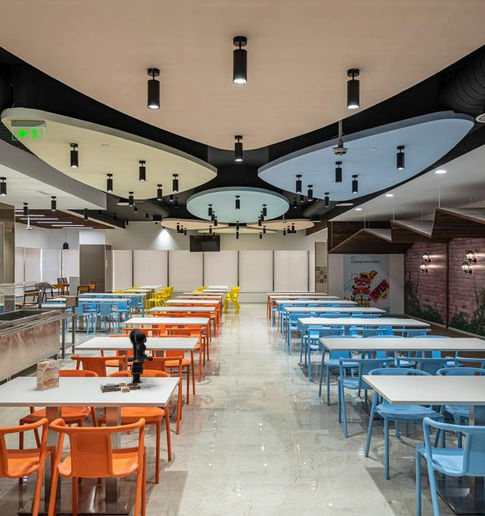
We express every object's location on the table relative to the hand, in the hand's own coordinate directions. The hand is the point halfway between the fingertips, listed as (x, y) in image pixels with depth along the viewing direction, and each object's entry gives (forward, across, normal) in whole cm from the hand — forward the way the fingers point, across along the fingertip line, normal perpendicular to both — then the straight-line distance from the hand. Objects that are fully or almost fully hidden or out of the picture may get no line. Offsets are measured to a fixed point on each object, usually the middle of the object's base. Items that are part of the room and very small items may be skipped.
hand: (139, 370), depth 364 cm
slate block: (+12, -22, -3) cm, 25 cm away
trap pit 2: (+12, -11, -12) cm, 20 cm away
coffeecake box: (+12, -65, +16) cm, 68 cm away
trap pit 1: (+12, -12, +6) cm, 18 cm away
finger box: (+12, -15, -3) cm, 19 cm away
